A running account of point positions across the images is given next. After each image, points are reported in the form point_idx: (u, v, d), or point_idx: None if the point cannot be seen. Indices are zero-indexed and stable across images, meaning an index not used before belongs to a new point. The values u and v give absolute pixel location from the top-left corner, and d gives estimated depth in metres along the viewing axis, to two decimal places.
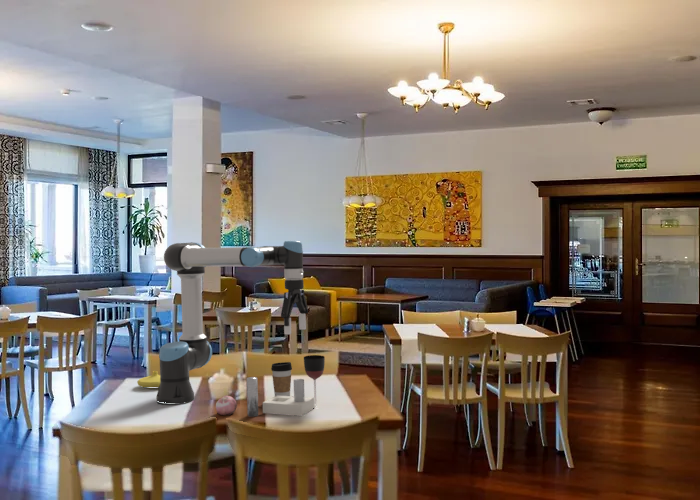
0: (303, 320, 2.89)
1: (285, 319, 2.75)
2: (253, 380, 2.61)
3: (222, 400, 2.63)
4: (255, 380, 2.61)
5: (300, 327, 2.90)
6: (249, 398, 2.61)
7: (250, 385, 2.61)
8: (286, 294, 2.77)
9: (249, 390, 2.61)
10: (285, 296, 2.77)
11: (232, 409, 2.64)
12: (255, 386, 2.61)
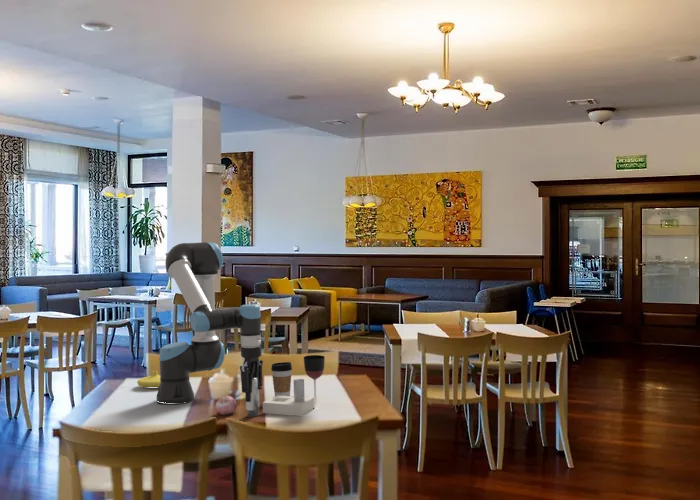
0: None
1: (246, 394, 2.59)
2: (253, 380, 2.61)
3: (222, 400, 2.63)
4: (255, 380, 2.61)
5: None
6: None
7: None
8: (242, 369, 2.56)
9: None
10: (242, 371, 2.57)
11: (232, 409, 2.64)
12: (255, 386, 2.61)
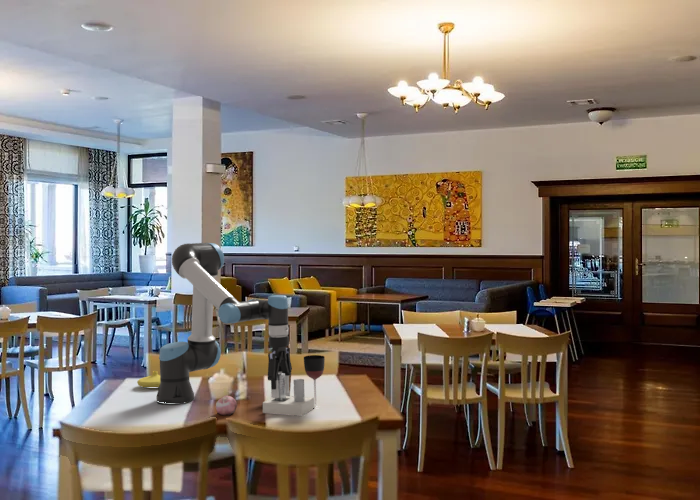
0: (286, 383, 2.73)
1: (272, 382, 2.64)
2: (281, 376, 2.68)
3: (222, 400, 2.63)
4: (282, 375, 2.68)
5: None
6: None
7: (278, 380, 2.68)
8: (270, 356, 2.63)
9: None
10: (270, 358, 2.63)
11: (232, 409, 2.64)
12: (283, 381, 2.68)
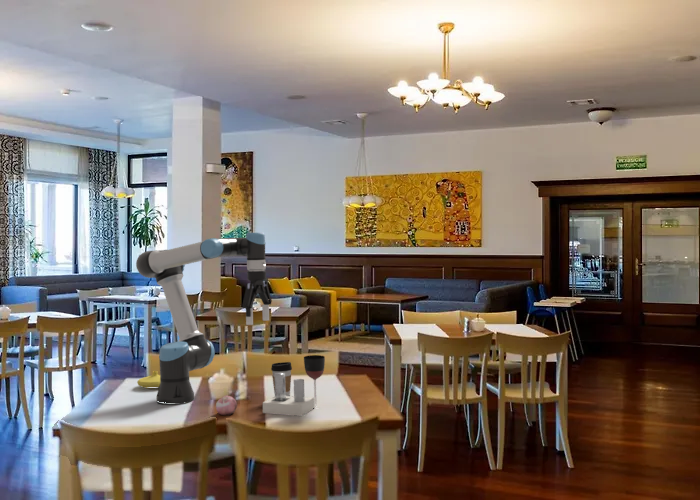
0: (266, 311, 2.91)
1: (247, 310, 2.78)
2: (281, 376, 2.68)
3: (222, 400, 2.63)
4: (283, 375, 2.68)
5: (263, 318, 2.92)
6: (277, 393, 2.68)
7: (278, 380, 2.68)
8: (248, 285, 2.79)
9: (277, 385, 2.68)
10: (247, 287, 2.79)
11: (232, 409, 2.64)
12: (283, 381, 2.68)
